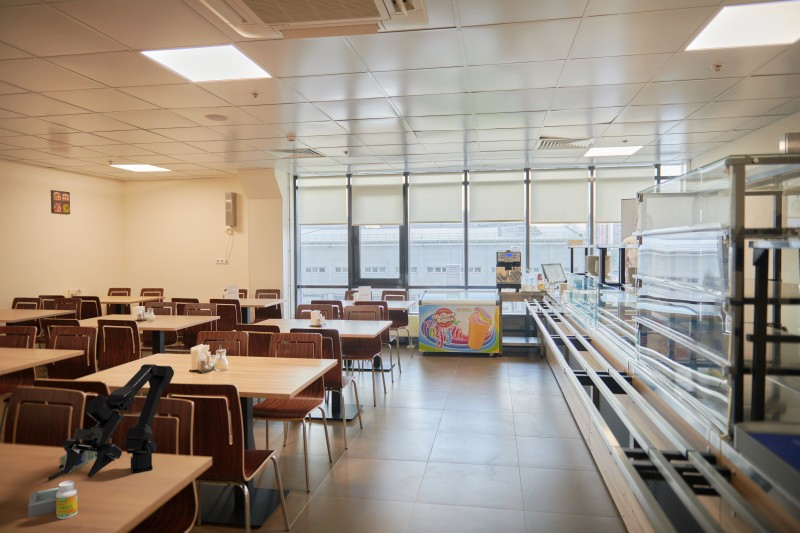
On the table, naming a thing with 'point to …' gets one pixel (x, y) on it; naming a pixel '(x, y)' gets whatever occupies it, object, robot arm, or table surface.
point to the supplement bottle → (66, 500)
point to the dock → (42, 502)
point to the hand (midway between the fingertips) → (76, 475)
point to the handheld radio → (84, 460)
